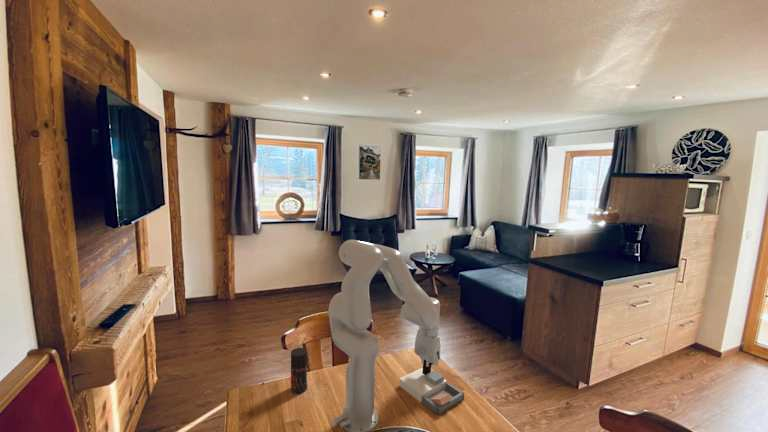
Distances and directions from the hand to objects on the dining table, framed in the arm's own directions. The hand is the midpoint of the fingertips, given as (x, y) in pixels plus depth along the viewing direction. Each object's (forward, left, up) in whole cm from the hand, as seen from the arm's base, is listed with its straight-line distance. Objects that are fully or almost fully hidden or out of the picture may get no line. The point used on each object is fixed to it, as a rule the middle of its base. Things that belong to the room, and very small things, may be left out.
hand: (426, 373), depth 134 cm
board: (-3, -1, -4) cm, 5 cm away
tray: (-3, -12, -4) cm, 13 cm away
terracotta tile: (-6, -12, 0) cm, 14 cm away
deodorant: (-42, +26, -4) cm, 50 cm away
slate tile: (0, -4, -1) cm, 4 cm away
